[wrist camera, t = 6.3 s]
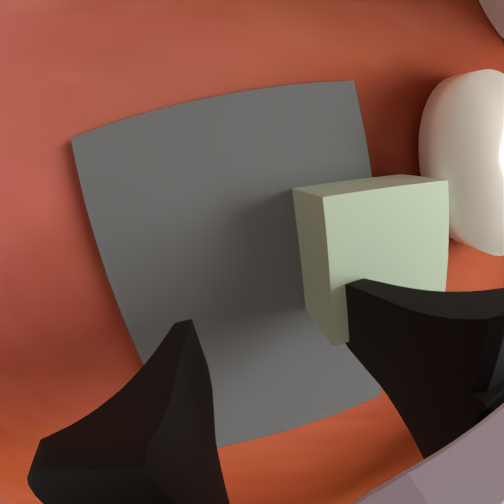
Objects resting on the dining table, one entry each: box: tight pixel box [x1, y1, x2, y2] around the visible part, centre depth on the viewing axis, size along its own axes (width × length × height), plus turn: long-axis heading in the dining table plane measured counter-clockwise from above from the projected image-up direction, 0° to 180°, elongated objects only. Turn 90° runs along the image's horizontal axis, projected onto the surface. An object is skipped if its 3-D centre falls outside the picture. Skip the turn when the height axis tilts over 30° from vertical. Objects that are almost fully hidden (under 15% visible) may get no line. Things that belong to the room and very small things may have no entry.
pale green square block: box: [292, 174, 449, 346], centre depth 11 cm, size 5×5×3 cm
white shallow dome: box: [419, 69, 504, 256], centre depth 12 cm, size 9×9×3 cm
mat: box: [71, 80, 381, 448], centre depth 13 cm, size 16×11×1 cm
